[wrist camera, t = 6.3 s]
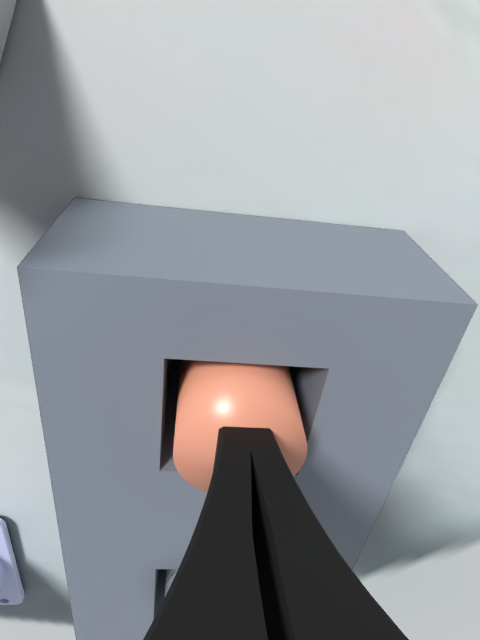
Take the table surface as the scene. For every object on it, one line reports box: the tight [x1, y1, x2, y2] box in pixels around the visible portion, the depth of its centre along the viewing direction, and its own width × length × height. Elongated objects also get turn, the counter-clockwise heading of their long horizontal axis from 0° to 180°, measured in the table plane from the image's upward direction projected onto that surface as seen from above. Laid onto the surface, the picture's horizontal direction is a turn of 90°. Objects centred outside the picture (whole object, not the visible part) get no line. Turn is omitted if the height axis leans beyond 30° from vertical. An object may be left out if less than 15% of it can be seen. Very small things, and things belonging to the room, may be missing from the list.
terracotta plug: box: [173, 360, 307, 492], centre depth 14 cm, size 4×4×4 cm
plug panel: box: [17, 198, 478, 640], centre depth 18 cm, size 11×19×5 cm, turn 173°
